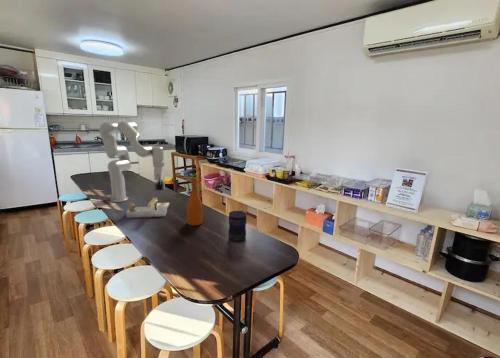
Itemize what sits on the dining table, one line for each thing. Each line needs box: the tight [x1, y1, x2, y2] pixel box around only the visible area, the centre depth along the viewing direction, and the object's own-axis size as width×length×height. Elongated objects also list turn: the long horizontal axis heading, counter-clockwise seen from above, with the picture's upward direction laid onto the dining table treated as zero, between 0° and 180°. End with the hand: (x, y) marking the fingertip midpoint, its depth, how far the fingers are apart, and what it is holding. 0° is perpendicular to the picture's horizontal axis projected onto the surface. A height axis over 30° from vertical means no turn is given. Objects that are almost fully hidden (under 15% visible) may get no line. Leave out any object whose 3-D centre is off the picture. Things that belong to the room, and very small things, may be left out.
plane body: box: [126, 201, 168, 219], centre depth 169 cm, size 24×9×9 cm, turn 100°
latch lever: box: [147, 196, 158, 208], centre depth 162 cm, size 15×2×2 cm, turn 6°
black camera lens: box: [228, 210, 247, 244], centre depth 138 cm, size 10×10×15 cm
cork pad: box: [153, 202, 170, 209], centre depth 186 cm, size 11×11×1 cm
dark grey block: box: [154, 181, 166, 191], centre depth 182 cm, size 6×5×5 cm
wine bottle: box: [185, 176, 204, 227], centre depth 155 cm, size 10×10×30 cm
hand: (160, 188), depth 183 cm, fingers closed on dark grey block, 5 cm apart
